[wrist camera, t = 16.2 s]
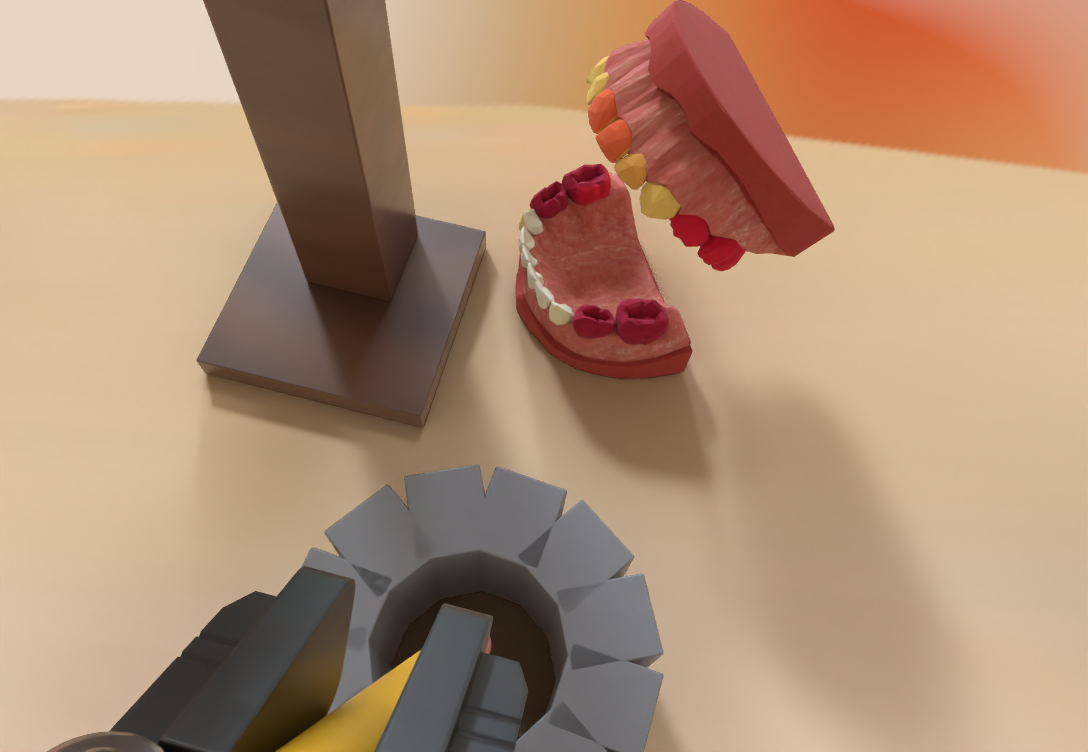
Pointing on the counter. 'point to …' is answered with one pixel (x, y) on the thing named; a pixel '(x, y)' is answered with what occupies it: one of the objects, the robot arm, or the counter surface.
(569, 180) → the anatomical model
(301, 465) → the counter surface
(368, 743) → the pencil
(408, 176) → the brown pedestal stand
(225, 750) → the robot arm
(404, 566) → the grey segmented ring
